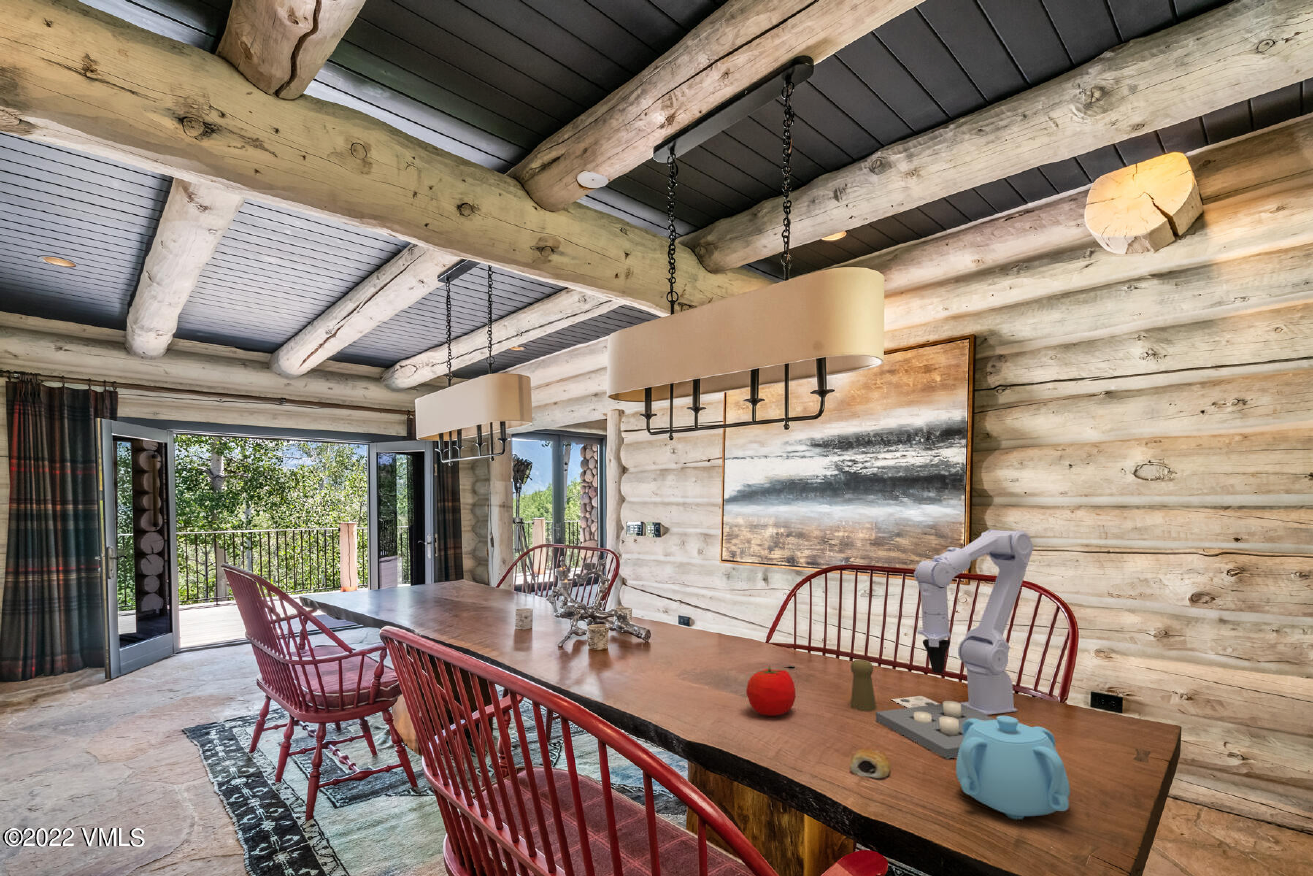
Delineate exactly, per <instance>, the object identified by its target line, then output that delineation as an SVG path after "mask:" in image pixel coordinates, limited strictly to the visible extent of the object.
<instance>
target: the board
mask: <svg viewBox="0 0 1313 876" xmlns="http://www.w3.org/2000/svg"><path fill="white" fill-rule="evenodd" d="M914 712H927V713H929V714H931V717H932V722H928V723H920V722H918V721H916V720H914ZM943 716H944V710H943V703H939V704H936V705H928V706H920V707H912V708H906V707H904V708H898V709H889V710H880V711H875V721H876V722H877V723H879V722H880V723H879V724H881V725H882V724H883V725H882V726H884V725H885V726H884V727H886V726H887V727H886V728H888V727H889V728H888V729H889V730H891V729H892V730H891V731H893V730H894V731H893V732H895V731H896V733H897V734H899V733H900V734H899V735H900V736H902V735H904V736H905V737H904V736H903V737H904V738H906V737H907V738H906V739H908V738H909V739H908V740H910V739H911V740H910V741H912V742H913V741H915V742H916V743H915V742H914V743H915V744H917V743H919V744H920V745H919V744H918V745H919V746H921V745H922V746H921V747H923V746H924V747H926V748H927V749H926V748H925V749H926V750H928V749H930V750H931V751H930V750H929V751H930V752H932V751H933V752H932V753H934V752H935V753H937V754H939V755H941V756H942V757H941V756H940V757H941V758H943V757H945V758H946V759H950V758H955V757H957V756H958V752H959V748H960V746H961V743H962V741H963V739H964V737H963V732H962V725H963V723H964V722H965V721H966V720H968V719H971V718H975V719H979V720H983V721H988V720H997V719H996V718H994V717H991V716H990V715H984V714H982V713H980V712H977V711H975V710H972V709H970V708H968V707H965V706H963V705H961V716H962V718H958V722H959V735H958V736H951V737H948V736H946V735H944V734H942V733H940V721H939V718H940V717H943ZM924 747H923V748H924ZM935 753H934V754H935ZM937 754H936V755H937ZM939 755H938V756H939ZM945 758H944V759H945ZM946 759H945V760H946ZM950 760H951V759H950Z"/></svg>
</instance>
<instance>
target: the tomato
mask: <svg viewBox="0 0 1313 876" xmlns="http://www.w3.org/2000/svg"><path fill="white" fill-rule="evenodd" d="M745 693H746V695H747V699H748V702H749V705H750V706H751V708H752V709H753V710H754V712H756V713H758V714H759V715H763V716H771V717H776V716H780V715H783V714H787V712H789V711H790V710H792V707H793V706H794V704H795V700H796V687H795V681H794V680H793V678H792V676H791V675H790V673H789V672H788V671H787V670H785V669H771V666H770V665H769V666H768V668H765V669H763V670H760V671H758V672H755V673H753V675H751V677H750V678H749V680H748V682H747V686H746V691H745Z"/></svg>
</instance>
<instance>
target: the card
mask: <svg viewBox="0 0 1313 876" xmlns="http://www.w3.org/2000/svg"><path fill="white" fill-rule="evenodd" d="M890 700H893V701H895V702H896V704H897V703H899V704H898V705H900V704H901V705H900V706H901V707H904V706H905V707H904V708H906V707H907V708H912V707H920V706H928V705H936V704H940V703H938V702H937V701H934V700H933V699H930V698H928V697H925V696H923V695H916V696H909V697H908V696H907V697H901V698H892V699H890ZM893 701H892V702H893ZM895 702H894V703H895Z"/></svg>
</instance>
